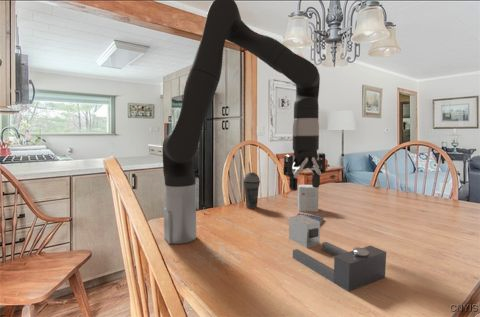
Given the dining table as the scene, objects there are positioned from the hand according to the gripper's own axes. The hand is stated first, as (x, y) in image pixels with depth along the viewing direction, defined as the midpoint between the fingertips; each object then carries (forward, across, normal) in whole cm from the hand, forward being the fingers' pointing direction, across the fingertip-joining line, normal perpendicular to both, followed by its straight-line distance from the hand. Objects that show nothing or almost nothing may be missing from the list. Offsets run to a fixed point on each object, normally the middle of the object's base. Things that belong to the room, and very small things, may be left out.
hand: (304, 188), depth 82 cm
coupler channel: (+16, +4, +16) cm, 23 cm away
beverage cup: (+16, -6, -41) cm, 44 cm away
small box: (+17, -25, -26) cm, 39 cm away
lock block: (+16, 0, 0) cm, 16 cm away
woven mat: (+17, -14, -14) cm, 26 cm away
